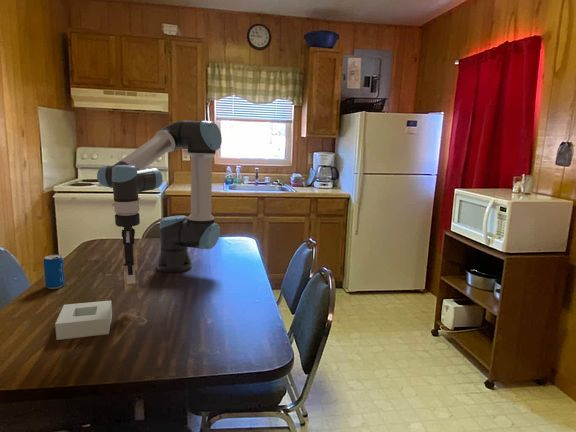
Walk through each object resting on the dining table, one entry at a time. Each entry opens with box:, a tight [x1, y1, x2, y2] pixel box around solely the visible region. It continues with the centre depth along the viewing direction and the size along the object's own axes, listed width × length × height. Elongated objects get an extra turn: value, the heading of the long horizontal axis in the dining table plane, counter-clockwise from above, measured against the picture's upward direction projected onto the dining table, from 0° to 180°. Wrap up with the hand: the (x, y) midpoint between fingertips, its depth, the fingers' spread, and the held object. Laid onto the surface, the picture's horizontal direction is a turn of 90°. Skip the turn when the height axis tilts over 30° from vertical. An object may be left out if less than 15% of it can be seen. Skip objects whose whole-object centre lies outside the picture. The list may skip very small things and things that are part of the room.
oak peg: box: [121, 243, 140, 294], centre depth 139 cm, size 4×4×16 cm
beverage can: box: [43, 254, 66, 290], centre depth 159 cm, size 6×6×12 cm
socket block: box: [54, 300, 113, 341], centre depth 129 cm, size 14×14×5 cm
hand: (131, 280), depth 140 cm, fingers closed on oak peg, 4 cm apart
